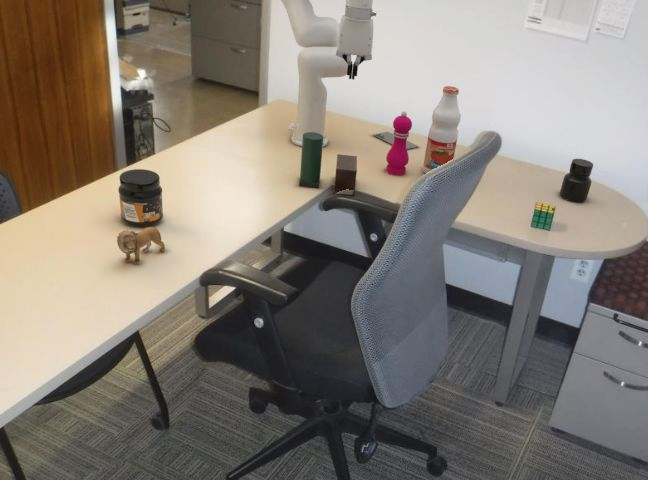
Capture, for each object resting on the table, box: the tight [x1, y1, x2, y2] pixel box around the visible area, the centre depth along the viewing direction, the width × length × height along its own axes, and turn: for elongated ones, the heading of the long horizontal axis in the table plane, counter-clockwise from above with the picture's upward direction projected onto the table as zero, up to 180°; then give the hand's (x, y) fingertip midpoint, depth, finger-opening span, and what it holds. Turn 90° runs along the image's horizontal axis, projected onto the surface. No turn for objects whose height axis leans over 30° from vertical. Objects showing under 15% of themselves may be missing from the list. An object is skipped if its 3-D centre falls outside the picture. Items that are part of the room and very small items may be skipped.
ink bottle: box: [559, 158, 594, 203], centre depth 232 cm, size 10×9×12 cm
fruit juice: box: [422, 85, 462, 175], centre depth 231 cm, size 9×9×28 cm
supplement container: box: [117, 168, 164, 228], centre depth 182 cm, size 10×10×12 cm
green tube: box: [298, 132, 324, 189], centre depth 214 cm, size 13×6×16 cm, turn 91°
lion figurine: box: [116, 226, 166, 265], centre depth 167 cm, size 15×5×9 cm, turn 159°
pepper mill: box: [385, 110, 413, 176], centre depth 229 cm, size 7×7×20 cm
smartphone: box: [372, 131, 419, 150], centre depth 259 cm, size 8×1×16 cm
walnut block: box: [333, 153, 358, 195], centre depth 217 cm, size 6×12×8 cm, turn 1°
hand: (351, 78), depth 215 cm, fingers closed
